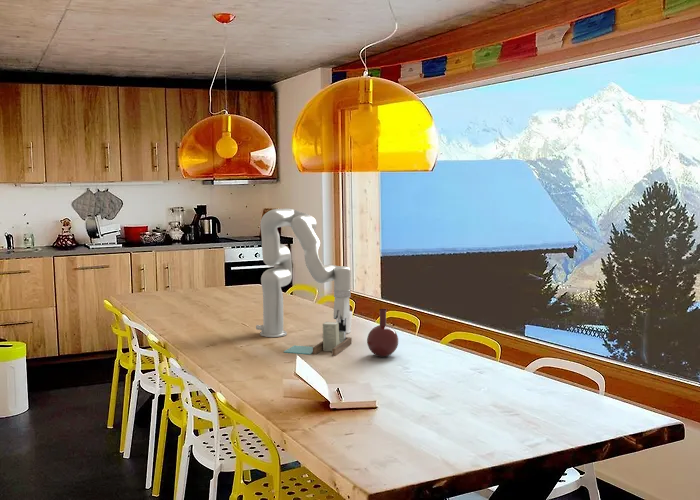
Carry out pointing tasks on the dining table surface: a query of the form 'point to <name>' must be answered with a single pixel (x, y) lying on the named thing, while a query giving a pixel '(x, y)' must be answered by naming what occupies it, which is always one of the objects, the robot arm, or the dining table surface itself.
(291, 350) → the coaster
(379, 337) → the round-bottom flask
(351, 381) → the dining table surface
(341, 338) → the brushed steel block
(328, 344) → the skincare box
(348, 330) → the white cup
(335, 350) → the brown rectangular frame
